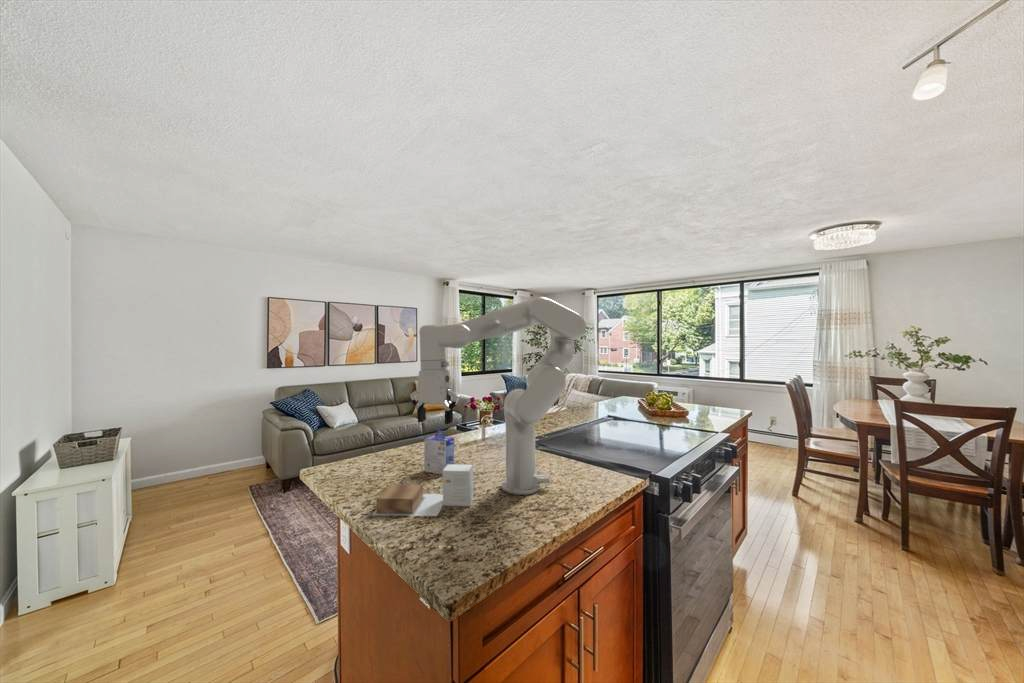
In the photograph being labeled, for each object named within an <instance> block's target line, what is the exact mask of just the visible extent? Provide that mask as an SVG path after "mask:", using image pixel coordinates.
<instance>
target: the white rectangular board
mask: <svg viewBox="0 0 1024 683" xmlns="http://www.w3.org/2000/svg"><path fill="white" fill-rule="evenodd" d="M443 506H444V505H443V493H442V494H438V493H423V499H422V500H421V502H420V503H419V505H418V506H417V508H416V509H415V511H414V512H413V514H405V513H377V508H376V509H375V510H374V511H373V513H372V514H371V515H372V516H416V517H417V516H418V517H420V516H421V517H437V516H438V515H439V513H440V511H441V509H442V508H443Z"/></svg>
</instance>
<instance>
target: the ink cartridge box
mask: <svg viewBox="0 0 1024 683" xmlns="http://www.w3.org/2000/svg"><path fill="white" fill-rule="evenodd" d="M439 433H441V434H439ZM445 435H446V430H440V429H438V430H436V434H435V435H430V436H428V437H427V436H426V437H425V438H424V445H423V446H424V449H423V450H424V452H423V454H424V456H423V457H424V458H423V460H424V464H423V466H424V467H423V468H424V469H423V471H424V472H426V473H431V474H432V473H433V474H439V475H442V471H443V470H444V468H445V467H446V466H447V465H448V464H452V465H455V438H454V437H451V436H450V437H448V436H445Z"/></svg>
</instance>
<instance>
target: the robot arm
mask: <svg viewBox="0 0 1024 683" xmlns="http://www.w3.org/2000/svg"><path fill="white" fill-rule="evenodd" d="M538 325H542V326H543V327H545V328H547V329H548V331H549V335H550V344H549V347H548V348H547V350H546V351H545V353H544V354H543V355H542V356H541V358H540V359H539V360H538V361H537V363H536V364H535V365H534V366H533V367H532V368H531V369H530V370H529V372H528V374H527V378H526V383H527V385H528V387H527V388H526V389H523V388H515V389H512V390H511V391H510V392H508V393H507V395H506V396H505V398H504V401H503V414H504V423H505V479H504V480H503V481H502V482H501V485H500V486H501V490H502V491H503V492H505V493H507V494H510V495H517V496H521V495H522V496H523V495H531V494H532V495H533V494H535V493H537V492H539V490H540V489H541V484H551V483H550V481H551V480H550V478H551V477H550V476H546V475H545V474H540V475H539V474H537V470H536V427H535V424H537V423H538V422H540V420H542V419H543V417H544V416H545V415H546V414H547V413H548V411H549V410H550V409H551V408H552V406H553V405H554V404H555V403H556V401H557V400H558V399H559V398H560V396H561V395H562V393H563V392H564V390H565V388H566V384H567V382H566V380H567V378H566V375H565V373H564V371H565V370H566V369H567V368H568V366H569V365H570V363H571V362H572V360H573V357H574V355H575V341H577V340H579V339H580V338H582V337H583V336H584V335H585V333H586V330H587V324H586V320H585V318H584V317H583V316H582V315H580V313H578V312H577V311H574V310H572V309H570V308H568V307H566V306H565V305H562V304H561V303H558V302H556V301H555V300H553V299H550V298H548V297H545V296H537V297H534V298H532V299H528V300H527V299H526V300H525V301H521V302H518V303H515V304H511V305H508V306H505V307H502V308H499V309H496V310H495V309H494V310H492V311H490V312H487V313H485V314H483V315H481V316H478V317H475V318H474V317H473V318H472V319H471V318H470V319H469V320H465V321H462V322H458V323H453V324H446V325H440V324H425V325H422V326H421V327H420V328H419V332H418V333H419V355H420V356H419V357H420V362H419V363H420V370H419V371H418V376H417V388H416V390H414V391H413V392H411V393H410V394H409V397H410V399H411V402H412V404H413V405H414V406H415V407H414V408H415V410H417V413H416V414H417V423H421V422H424V421H425V422H426V420H427V416H426V415H427V413H426V407H425V405H426V404H430V405H431V404H432V405H442V406H443V408H445V410H444V425H449V424H451V423H453V419H454V413H453V412H454V409H455V407H457V405H458V404H459V403H458V402H459V400H460V398H461V395H460V394H459V393H456V391H453V387H452V379H451V374H450V371H449V370H450V369H447V367H449V366H450V363H449V362H448V361H447V359H446V348H450V349H463V348H465V347H467V346H468V345H470V344H472V343H475V342H479V341H482V340H485V339H491V338H499V337H503V336H508V335H509V334H510V335H511V334H513V333H516V332H519V331H522V330H525V329H528V328H531V327H534V326H538Z"/></svg>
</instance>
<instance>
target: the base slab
mask: <svg viewBox="0 0 1024 683" xmlns="http://www.w3.org/2000/svg"><path fill="white" fill-rule="evenodd" d="M423 494H424V484H407V483H406V484H401V483H399V484H397V483H395V484H393V483H392V484H391V483H390V484H389V485H387V487H386V488H385V489H384V490H383V491H382V492H381V493H380V494H379V495H378V496H377V497H376V499H375V500H376V501H375V502H376V509H377V513H405V514H413V512H414V511H415V509H416V508H417V506H418V505H419V503H420V502H421V500H422V499H423Z"/></svg>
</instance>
